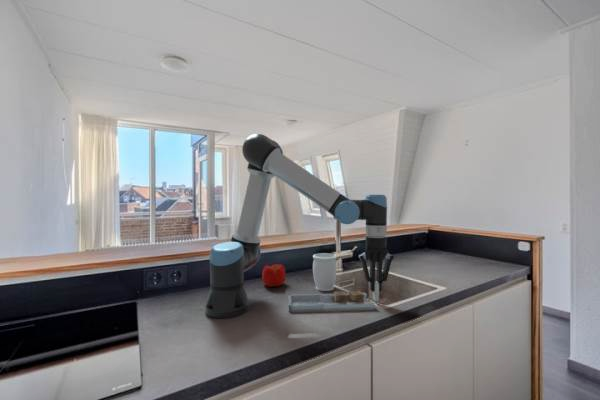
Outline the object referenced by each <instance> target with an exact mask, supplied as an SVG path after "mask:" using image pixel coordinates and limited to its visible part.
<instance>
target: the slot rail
mask: <svg viewBox="0 0 600 400" xmlns="http://www.w3.org/2000/svg"><path fill="white" fill-rule="evenodd" d="M345 293H346V295H347V302H342V303H334V293H304V294H303V293H302V294H301V293H299V294H296V293H295V294H288V298H287V300H288V302H287V303H288V304H287V305H288V312H289V313H305V312H308V313H311V312H344V311H375V310H376V309H375V302H373V301H369V300H368V294H367V293H366V292H362V293H363V294H364V302H349V292H348V293H347V292H345Z"/></svg>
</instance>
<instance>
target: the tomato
mask: <svg viewBox="0 0 600 400" xmlns="http://www.w3.org/2000/svg"><path fill="white" fill-rule="evenodd" d="M261 272H262V273H261V274H262V275H261V278H262V282H263V284H264V285H265V286H267V287H269V288H272V287H279V286H282V285H283V284H284V283H285V282H286V277H287V276H286V268H285V267H284V265H283V264H280V263H279V264H276V263H275V264H272V265H267V264H266V265H265V266H264V267H263V269H262V271H261Z"/></svg>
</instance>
